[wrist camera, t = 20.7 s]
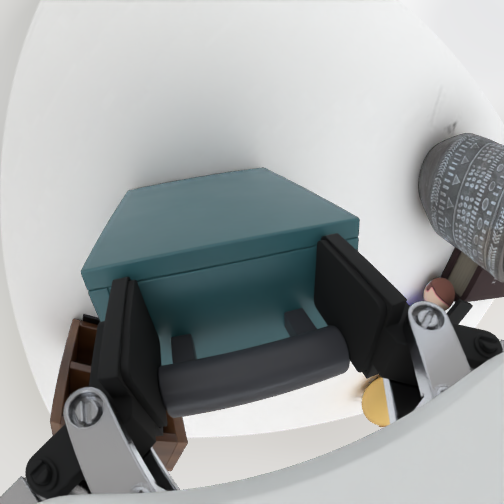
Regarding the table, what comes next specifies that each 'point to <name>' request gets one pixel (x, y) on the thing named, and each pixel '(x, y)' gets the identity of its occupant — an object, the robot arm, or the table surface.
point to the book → (471, 279)
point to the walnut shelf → (78, 376)
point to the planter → (467, 197)
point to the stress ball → (376, 403)
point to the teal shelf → (226, 284)
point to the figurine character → (446, 299)
